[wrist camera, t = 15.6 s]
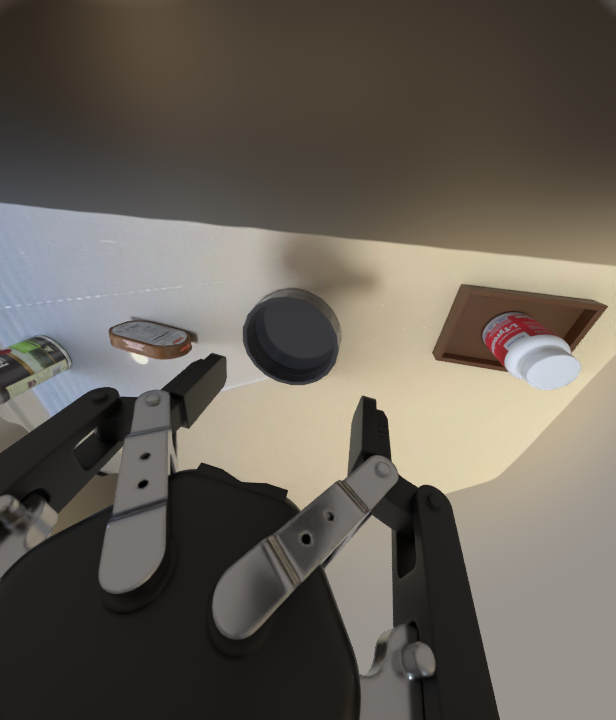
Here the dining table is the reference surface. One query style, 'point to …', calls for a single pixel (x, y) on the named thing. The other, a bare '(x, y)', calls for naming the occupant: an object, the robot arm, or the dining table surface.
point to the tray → (485, 304)
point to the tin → (150, 339)
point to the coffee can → (30, 365)
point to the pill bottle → (531, 351)
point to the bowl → (292, 337)
